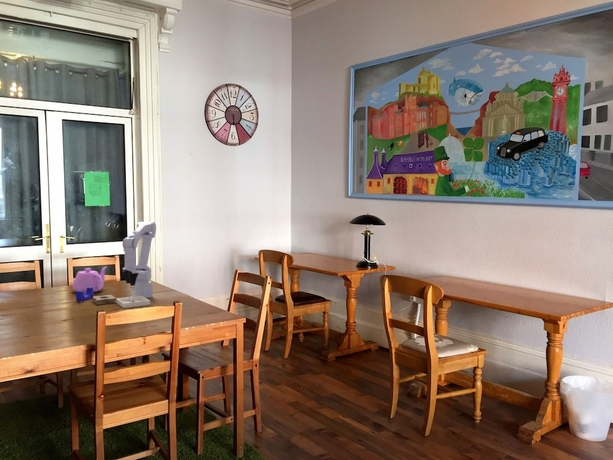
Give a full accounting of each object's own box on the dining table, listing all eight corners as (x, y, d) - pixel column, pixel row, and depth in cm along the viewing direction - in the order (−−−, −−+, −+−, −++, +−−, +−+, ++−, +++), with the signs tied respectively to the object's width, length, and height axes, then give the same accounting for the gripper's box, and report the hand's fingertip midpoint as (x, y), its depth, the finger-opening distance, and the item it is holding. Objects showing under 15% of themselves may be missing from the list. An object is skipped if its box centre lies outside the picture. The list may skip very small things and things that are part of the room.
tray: (142, 300, 300) (142, 295, 300) (150, 305, 289) (150, 300, 288) (116, 302, 292) (116, 298, 292) (123, 308, 281) (123, 303, 280)
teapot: (118, 290, 327) (118, 267, 326) (87, 295, 309) (86, 272, 308) (95, 285, 339) (95, 264, 338) (64, 291, 321) (63, 268, 319)
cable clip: (86, 297, 306) (85, 286, 306) (93, 297, 305) (93, 287, 305) (73, 301, 294) (73, 290, 294) (81, 302, 294) (80, 291, 293)
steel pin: (134, 302, 292) (134, 286, 291) (135, 303, 290) (135, 287, 289) (129, 302, 291) (129, 286, 290) (130, 303, 288) (130, 287, 288)
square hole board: (111, 299, 301) (111, 294, 301) (116, 302, 293) (116, 298, 293) (92, 301, 296) (92, 296, 296) (96, 304, 288) (96, 300, 287)
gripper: (118, 258, 294) (119, 282, 295) (126, 262, 282) (127, 287, 283) (131, 257, 298) (132, 281, 299) (140, 261, 286) (140, 286, 287)
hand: (130, 284), depth 291 cm, fingers open, 7 cm apart
